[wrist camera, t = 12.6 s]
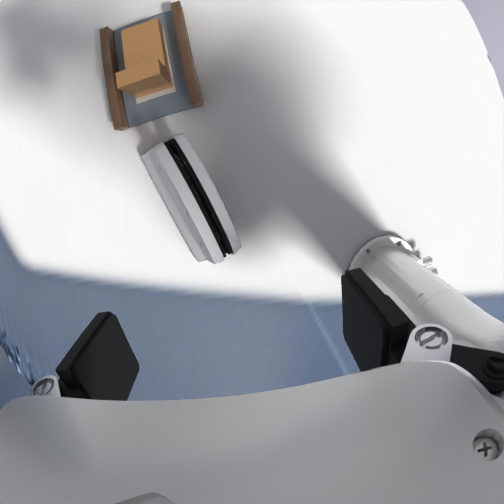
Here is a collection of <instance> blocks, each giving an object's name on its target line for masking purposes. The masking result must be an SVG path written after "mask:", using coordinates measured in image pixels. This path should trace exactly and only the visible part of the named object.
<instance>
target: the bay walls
mask: <svg viewBox="0 0 504 504" xmlns="http://www.w3.org/2000/svg"><path fill="white" fill-rule="evenodd" d="M171 9H172V14H173V19H174V24H175V29H176V34H177V39H178V44H179V49H180V54H181V59H182V63H183V68H184V73H185V78H186V82H187V87H188V91H189V96H190V100H191V105H192V106H193V107H198V106H202V105H203V102H202V97H201V93H200V89H199V84H198V80H197V75H196V71H195V66H194V61H193V57H192V52H191V48H190V43H189V38H188V34H187V29H186V24H185V19H184V15H183V10H182V7H181V4H180V1H177V2H174V3H171ZM100 41H101V50H102V59H103V67H104V74H105V81H106V87H107V93H108V99H109V105H110V110H111V115H112V121H113V126H114V130H119V131H122V130H125V129H128V128H129V124H128V119H127V114H126V109H125V104H124V98H123V93H122V91H121V90H119V89H117V82H116V75H115V73H117V72H119V69H118V62H117V55H116V48H115V40H114V32H113V31H112V30H111V29H110V28H109V27H105V28H103V29H100Z"/></svg>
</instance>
